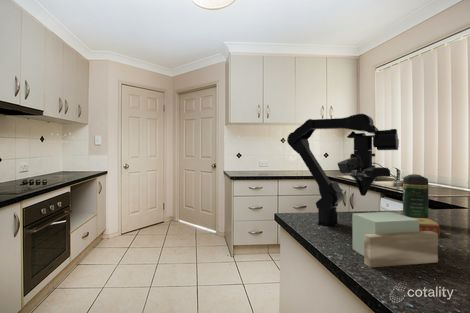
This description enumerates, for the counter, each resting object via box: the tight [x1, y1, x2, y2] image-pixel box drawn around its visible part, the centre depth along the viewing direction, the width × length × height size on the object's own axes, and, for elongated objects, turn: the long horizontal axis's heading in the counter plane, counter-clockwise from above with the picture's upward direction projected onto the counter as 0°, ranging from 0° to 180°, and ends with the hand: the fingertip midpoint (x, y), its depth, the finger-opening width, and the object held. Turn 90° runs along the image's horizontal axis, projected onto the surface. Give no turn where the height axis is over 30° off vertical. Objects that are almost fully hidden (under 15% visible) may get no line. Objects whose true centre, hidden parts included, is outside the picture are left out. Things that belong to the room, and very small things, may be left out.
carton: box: [414, 218, 441, 237], centre depth 85 cm, size 8×16×4 cm, turn 70°
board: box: [363, 231, 439, 268], centre depth 59 cm, size 2×18×7 cm, turn 98°
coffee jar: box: [402, 173, 430, 219], centre depth 95 cm, size 10×8×19 cm
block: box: [351, 211, 419, 257], centre depth 65 cm, size 9×12×10 cm
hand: (363, 195), depth 86 cm, fingers closed
